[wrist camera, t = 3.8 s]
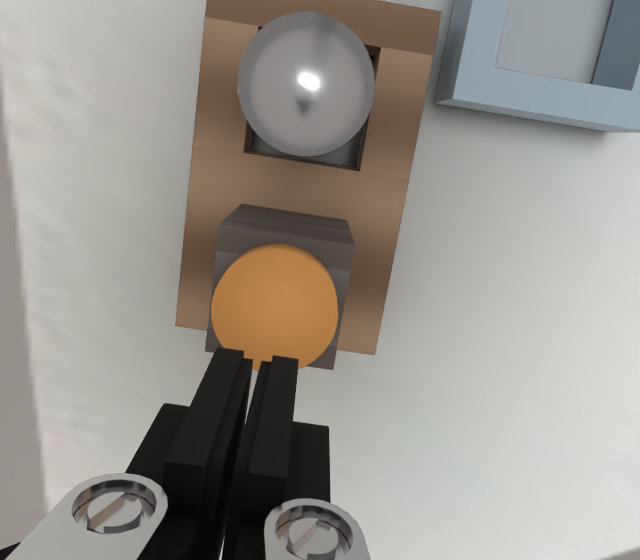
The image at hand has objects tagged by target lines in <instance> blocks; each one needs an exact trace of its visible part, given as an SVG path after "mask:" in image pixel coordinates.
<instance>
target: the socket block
mask: <svg viewBox="0 0 640 560" xmlns="http://www.w3.org/2000/svg"><path fill="white" fill-rule="evenodd" d="M304 11H309V12H318V13H322V14H326V15H328V16H331V17H333V18H335V19H337V20H339V21H341V22H342V23H344V24H345V25H346V26H348V27H349V28H350V29H351V30H352V31H353V32H354V33H355V34H356V35H357V36H358V37H359V39H360V40H361V41H362V43H363V44H364V46H365V48H366V50H367V52H368V54H369V55H373V56H375V58H374V64H373V70H374V78H375V90H374V98H373V102H372V107H371V109H370V112H369V115H368V117H367V119H366V120H365V122H364V124H363V128H362V134H361V140H360V146H359V152H358V157H357V163H356V167H350V166H344V165H338V164H331V163H325V162H319V161H313V160H306V159H300V158H294V157H288V156H282V155H275V154H269V153H263V152H257V151H251V145H252V137H253V129H252V127H251V126H250V124H249V123H248V121H247V119H246V117H245V115H244V113H243V110H242V107H241V104H240V100H239V95H238V85H237V84H238V72H239V66H240V63H241V59H242V56H243V54H244V52H245V50H246V48H247V46H248V44H249V43H250V41H251V40H252V38H253V37H254V36H255V35H256V34H257V32H258V31H259V30H261V29H262V28H263V27H264V26H265V25H267V24H268V23H269V22H271V21H272V20H274V19H276V18H278V17H280V16H283V15H286V14H289V13H294V12H304ZM441 13H442V11H436V10H430V9H424V8H419V7H413V6H407V5H401V4H395V3H390V2H384V1H378V0H207V3H206V13H205V23H204V34H203V44H202V54H201V65H200V75H199V85H198V96H197V106H196V117H195V127H194V137H193V148H192V158H191V168H190V179H189V189H188V199H187V210H186V220H185V230H184V241H183V251H182V261H181V272H180V282H179V292H178V303H177V313H176V323H175V326H179V327H186V328H193V329H200V330H206V331H207V338H206V347H205V351H206V352H213V353H215V351H216V348H217V347H222V348H224V347H223V346H222V345H221V343H220V342H219V340H218V338H217V336H216V334H215V331H214V328H213V324H212V318H211V304H212V299H213V295H214V292H215V289H216V287H217V285H218V283H219V281H220V280H221V278H222V277H223V275H224V274H225V272H226V271H227V269H228V268H229V266H230V265H231V264H232V263H233V262H234V261H235V260H236V259H237V258H238V257H239V256H240V255H242V254H243V253H245V252H246V251H248V250H250V249H252V248H255V247H258V246H261V245H266V244H277V243H278V244H287V245H292V246H295V247H298V248H301V249H303V250H305V251H307V252H309V253H310V254H312V255H313V256H315V257H316V258H317V259H318V260H319V261H320V262H321V263H322V264H323V265H324V266H325V268H326V269H327V271H328V272H329V274H330V276H331V278H332V280H333V283H334V286H335V290H336V295H337V305H338V321H337V327H336V331H335V334H334V336H333V339H332V340H331V342H330V344H329V346H328V347H327V348H326V350H325V351H324V352H323V353H322V354H321V355H320V356H319V357H318V358H317V359H315V360H314V361H313V362H311V363H310V364H308V365H306V366H309V367H316V368H323V369H330V370H333V367H334V361H335V356H336V350H343V351H349V352H356V353H363V354H370V355H375V351H376V346H377V341H378V335H379V330H380V325H381V320H382V315H383V310H384V305H385V300H386V294H387V289H388V284H389V279H390V274H391V269H392V264H393V259H394V254H395V248H396V243H397V238H398V233H399V228H400V223H401V218H402V213H403V208H404V202H405V197H406V192H407V187H408V182H409V177H410V172H411V167H412V162H413V156H414V151H415V146H416V141H417V136H418V131H419V126H420V121H421V116H422V110H423V105H424V100H425V95H426V90H427V85H428V80H429V75H430V70H431V64H432V59H433V54H434V49H435V44H436V39H437V34H438V29H439V24H440V18H441Z"/></svg>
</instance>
